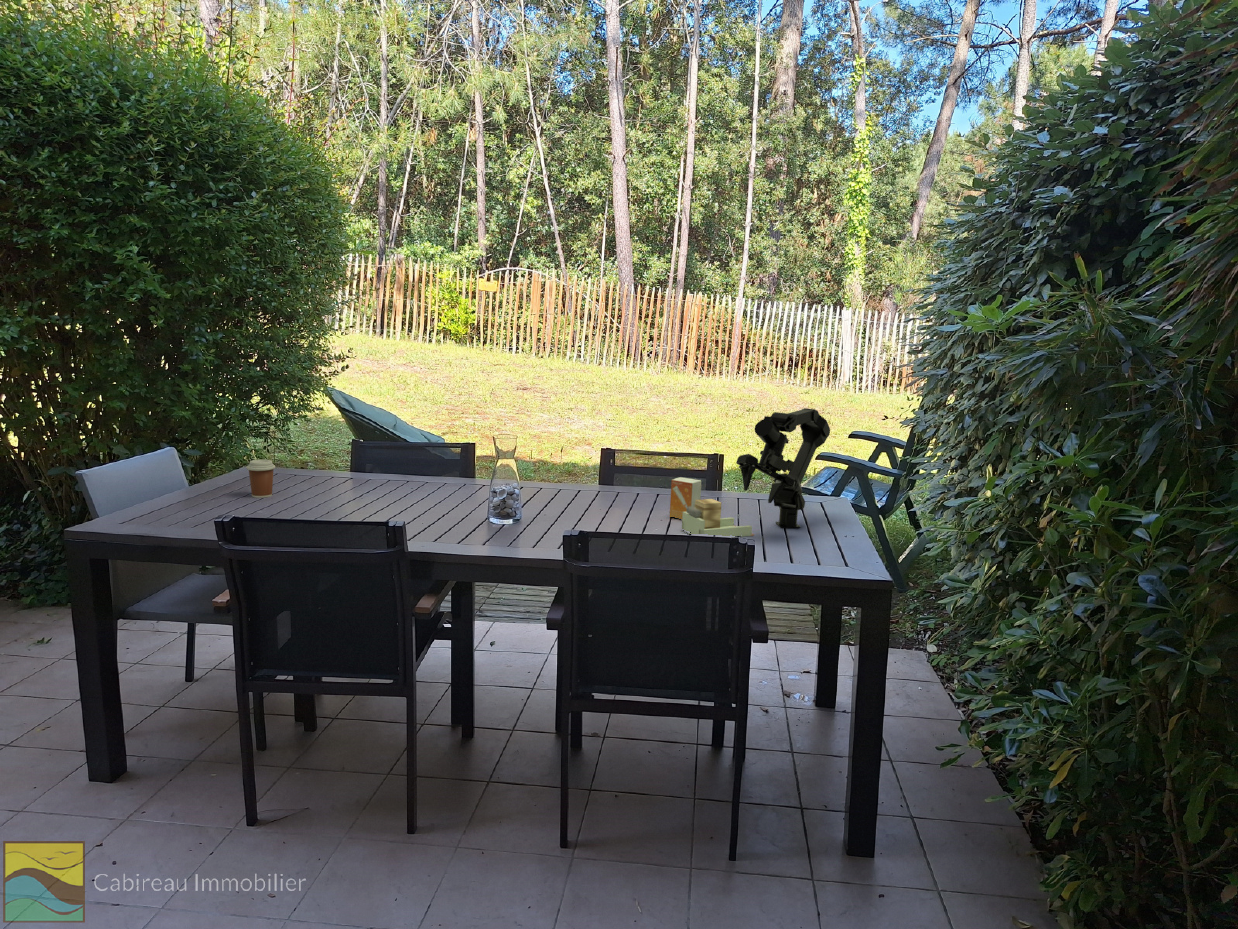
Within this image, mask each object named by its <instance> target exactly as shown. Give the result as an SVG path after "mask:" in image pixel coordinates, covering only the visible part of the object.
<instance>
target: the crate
mask: <svg viewBox="0 0 1238 929" xmlns="http://www.w3.org/2000/svg"><path fill="white" fill-rule="evenodd" d="M695 508H696V509H698V510H700V511H701V516H700V517H699V518H701V519H703V520H705V527H704V529H711V528H720V519H721V518H722V516H721V515H722V502H720V501H718V500H716V499H714V498H707V499H706V498H702V499H700V500H695Z"/></svg>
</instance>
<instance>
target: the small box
mask: <svg viewBox="0 0 1238 929" xmlns="http://www.w3.org/2000/svg"><path fill="white" fill-rule="evenodd" d="M701 493H702V480H700V479H696V478H695V479H694V478H691V477H690V478H689V477H688V478H687V477H682V476H680V477H676V478H673V479H671V485H670V503H669V518H670V517H675V518H679V519H682V516H683V512H687V511H686V510H687V508H688V507H689V506H692V507H694V508H695V500H701ZM679 519H678V520H679Z"/></svg>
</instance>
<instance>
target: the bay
mask: <svg viewBox="0 0 1238 929" xmlns="http://www.w3.org/2000/svg"><path fill="white" fill-rule="evenodd" d="M686 511H687V512H683V516H682V520H681V530H682V529H684V530H686V531H689V532H691V533H688V534H687V535H689V534H708V535H722V536H730V535H732V536H741V535H742V536H741V537H740V538H742V537H753V536H755V534H754V533H753V526H752V525H738V526H737V525H735V523H734V522H735V518H734V517H733V516H732V517H721V519H720V528H711V529H704V527H705V520H703V519H701V518H699V517H700V516H701V511H700V510H698V509H696V508H694V507H692V506H689V507H688V508H687V510H686Z"/></svg>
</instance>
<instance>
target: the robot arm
mask: <svg viewBox="0 0 1238 929" xmlns="http://www.w3.org/2000/svg"><path fill="white" fill-rule="evenodd" d="M797 426H799V428H800V430H801V437H802V443H801V446H800V447H799V449H798V451H797V454H796V456H795V458H794V460H791V459H786V460H785V459H784V454H783V451H784V448H785V446H786V444H789V438H788V437H787V436H788V435H787V434H784V433H792V432H793V431H795V430H797ZM754 432H755V434H756V435H757V436H758V438H759V439H760V440H761V441H762V442H763V443H764V444H765V445H764V448H763V450H760V452H759V455H761V456H760V459H758V457H756V456H754V455H752V454H750V453H746V454H740V455H739V456H738V457H737V459H736V464H737V465H738V468H739V469H740V472H741V476H742V483H743V491H745V492H747V491H748V490H749V487H750V484H751V481H752V477H753V474H754V473H755V471H756V470H757V471H759V472H761V473H762V474H765V475H767V476H768V477H770V478H772V479H773V483H771V487H770V489H769V490H770V491H769V495H768V499H767V503H768V504H771V503H772V502H773V506H774V507H779V516H778V517H779V518H778V519H779V520H778V521H774V522H775V524H776V525H777V526H778V527H780V529H800V528H801V525H799V524H798V512H799V511H804V509H805V506H806V501H805V498H804V496H803V488H802V482H803V480H804V477H805V475H806V472H807V470H808V469H809V466H810V463H811V461H812V459H813V457H814V455H815V453H816V450H817V448H819V447H821V446H823V444H825V443H826V441H827V439H828V438H829V436H830V433H831V428H830V426H829V423H828V420H826V418H824V417H823V416H822V415H821V414H820V413H819V410H816V408H807V407H806V408H805V407H804V408H802V409H800V410H796V411H792V412H788V413H787V412H786V413H785V412H777V411H775V412H772V414H771V415H770V416H768V415H765V416H764V418H763V419H761V420H759V421H758V422H757V423H756V424H755V425H754ZM783 432H784V433H783ZM781 471H782V472H784V473H781V474H780V473H779V472H781ZM787 471H788V473H786V472H787Z"/></svg>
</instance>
